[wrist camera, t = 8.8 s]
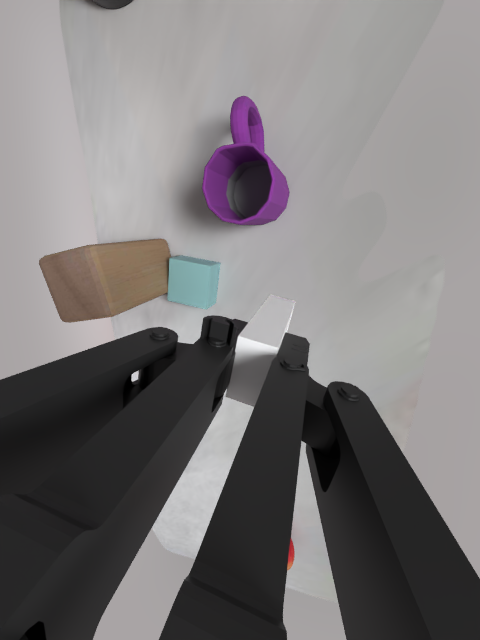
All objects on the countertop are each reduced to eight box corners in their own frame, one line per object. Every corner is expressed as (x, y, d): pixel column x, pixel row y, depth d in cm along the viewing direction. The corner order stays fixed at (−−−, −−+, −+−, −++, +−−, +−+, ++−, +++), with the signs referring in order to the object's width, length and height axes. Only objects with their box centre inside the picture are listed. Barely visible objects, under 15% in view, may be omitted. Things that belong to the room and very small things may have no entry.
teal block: (182, 255, 54) (169, 257, 50) (220, 262, 52) (211, 266, 48) (179, 294, 57) (167, 300, 52) (216, 302, 55) (206, 309, 51)
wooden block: (140, 294, 59) (59, 325, 41) (126, 247, 57) (33, 257, 39) (181, 287, 56) (112, 318, 38) (168, 237, 54) (87, 244, 35)
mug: (238, 226, 49) (205, 227, 36) (230, 125, 44) (189, 81, 31) (290, 222, 47) (276, 221, 33) (288, 113, 42) (271, 60, 28)
